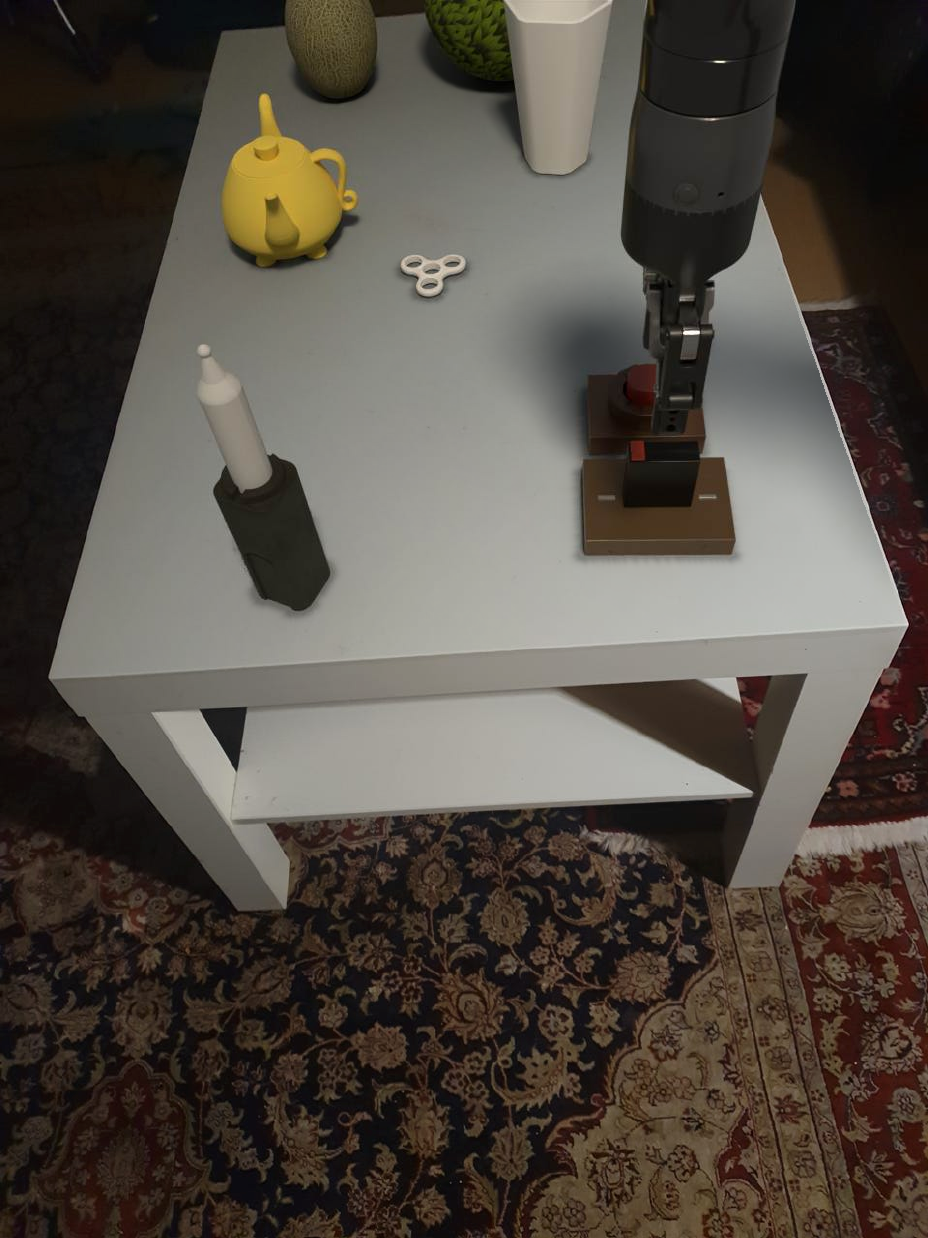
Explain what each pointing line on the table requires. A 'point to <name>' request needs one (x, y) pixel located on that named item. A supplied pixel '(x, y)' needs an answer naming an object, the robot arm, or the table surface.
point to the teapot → (282, 195)
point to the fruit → (332, 43)
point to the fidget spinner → (432, 278)
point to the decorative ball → (473, 35)
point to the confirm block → (627, 417)
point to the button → (642, 384)
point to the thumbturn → (661, 473)
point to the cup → (557, 76)
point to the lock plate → (656, 515)
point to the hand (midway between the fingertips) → (662, 387)
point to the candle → (261, 496)
